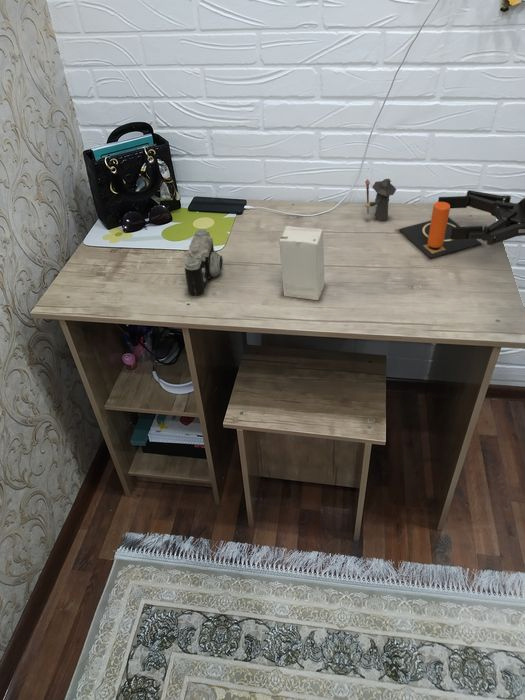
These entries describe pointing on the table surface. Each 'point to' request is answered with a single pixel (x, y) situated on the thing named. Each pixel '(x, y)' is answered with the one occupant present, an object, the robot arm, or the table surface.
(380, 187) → the wizard figurine
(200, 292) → the camera
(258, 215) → the table surface
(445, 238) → the black square board
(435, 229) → the cylinder
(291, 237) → the cosmetic box
